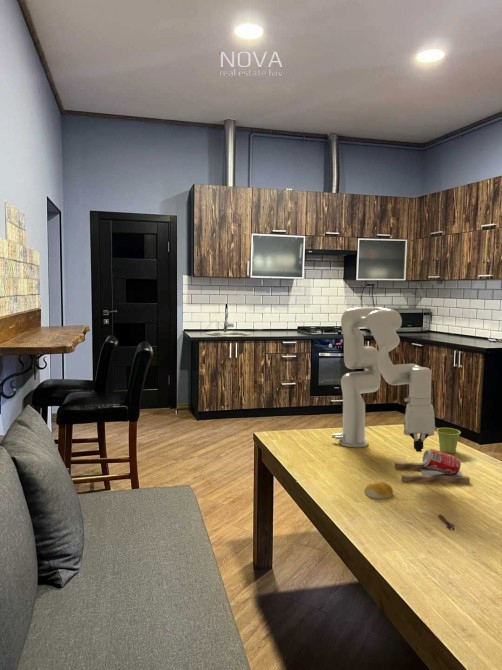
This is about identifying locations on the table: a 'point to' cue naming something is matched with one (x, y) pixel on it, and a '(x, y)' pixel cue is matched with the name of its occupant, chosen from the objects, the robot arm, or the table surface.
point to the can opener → (446, 522)
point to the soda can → (441, 462)
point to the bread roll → (379, 490)
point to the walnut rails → (426, 477)
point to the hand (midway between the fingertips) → (418, 450)
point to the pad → (436, 473)
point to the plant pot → (448, 439)
